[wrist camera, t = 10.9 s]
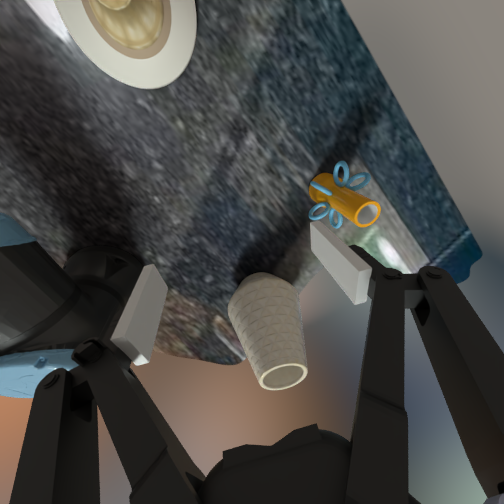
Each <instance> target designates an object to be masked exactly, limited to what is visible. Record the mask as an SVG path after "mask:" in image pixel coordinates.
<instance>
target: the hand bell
mask: <svg viewBox="0 0 504 504" xmlns="http://www.w3.org/2000/svg"><path fill="white" fill-rule="evenodd" d="M88 1H89V4H90V7H91V9H92V11H93V13H94V15H95V17H96V19H97V21H98V22H99V24H100V25H101V27H102V28H103V29H104V30H105V32H106V33H107V34H108V35H109V36H110V37H111V38H112V39H113V40H115V41H116V42H117V43H119V44H120V45H122V46H124V47H127V48H130V49H134V50H142V49H146V48H149V47H150V46H152V45H153V44H154V43H155V42H156V40H157V39H158V38H159V36H160V33H161V30H162V26H163V19H164V13H163V3H162V0H88Z"/></svg>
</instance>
